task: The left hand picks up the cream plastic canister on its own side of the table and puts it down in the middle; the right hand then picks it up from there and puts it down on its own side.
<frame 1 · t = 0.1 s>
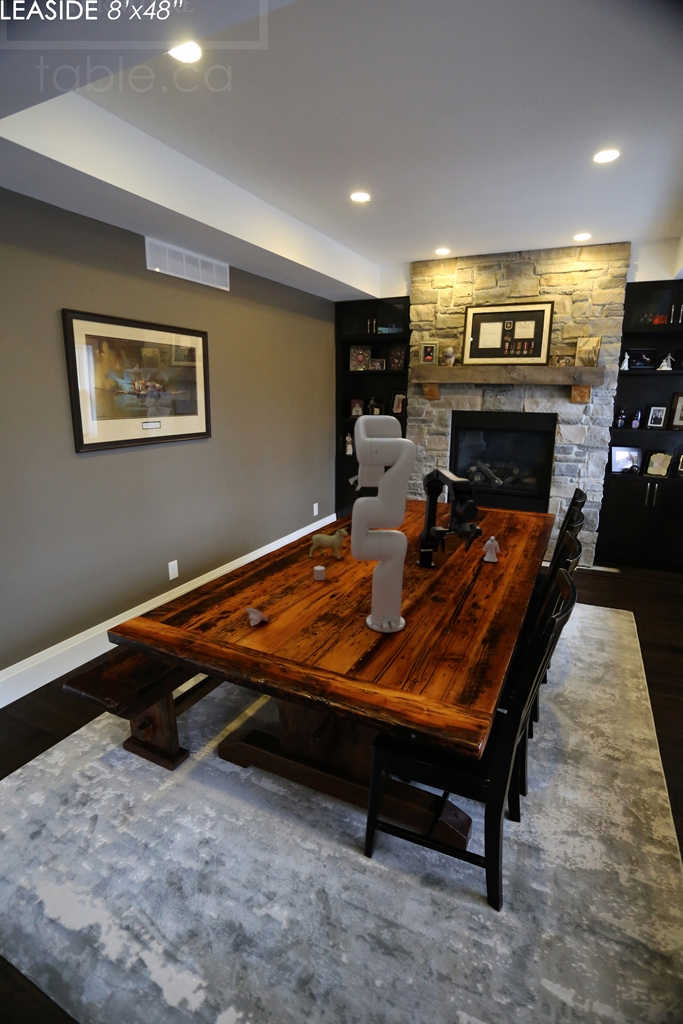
left hand: (370, 500, 199), 31 cm above the table, tool pointing down, fingers open, 9 cm apart
right hand: (454, 553, 188), 15 cm above the table, tool pointing down, fingers open, 9 cm apart
toy: (329, 557, 224), on the table
figurine: (490, 560, 225), on the table
seashell: (256, 623, 161), on the table
canister: (319, 578, 200), on the table
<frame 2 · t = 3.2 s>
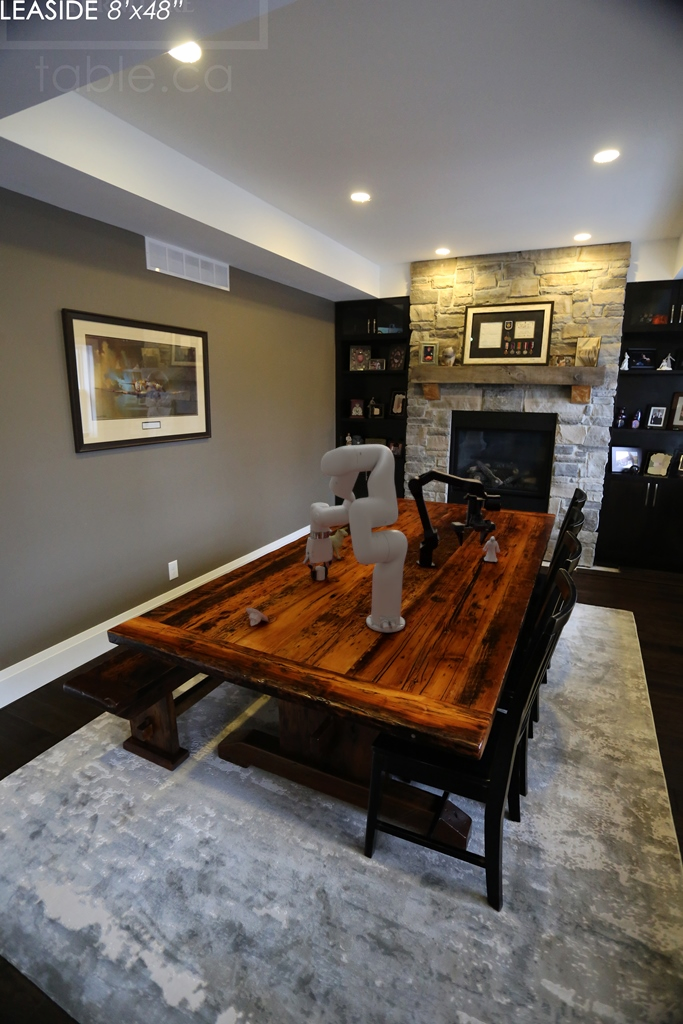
left hand: (319, 577, 200), 0 cm above the table, tool pointing down, fingers closed on canister, 4 cm apart
right hand: (471, 545, 213), 10 cm above the table, tool pointing down, fingers open, 9 cm apart
canister: (319, 578, 200), on the table, touching left hand
everything else where it was.
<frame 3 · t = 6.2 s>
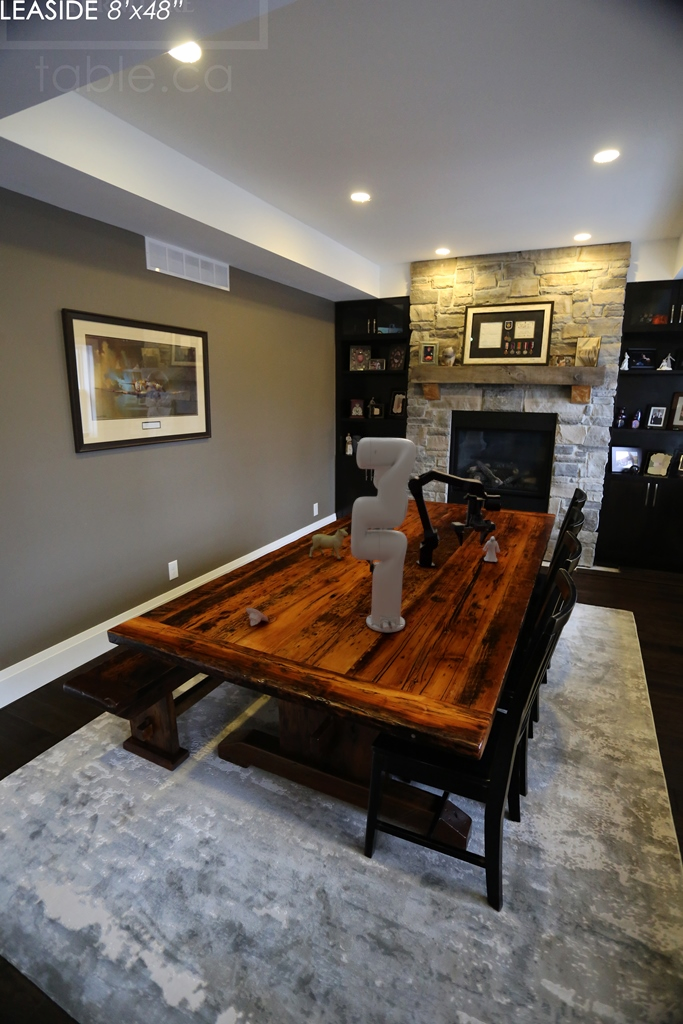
left hand: (378, 573, 195), 4 cm above the table, tool pointing down, fingers closed on canister, 4 cm apart
right hand: (471, 545, 213), 10 cm above the table, tool pointing down, fingers open, 9 cm apart
canister: (378, 574, 196), point 4 cm above the table, touching left hand
everything else where it was.
when the left hand's fingers open (1 cm above the table, at t = 9.3 s): canister stays where it is, on the table.
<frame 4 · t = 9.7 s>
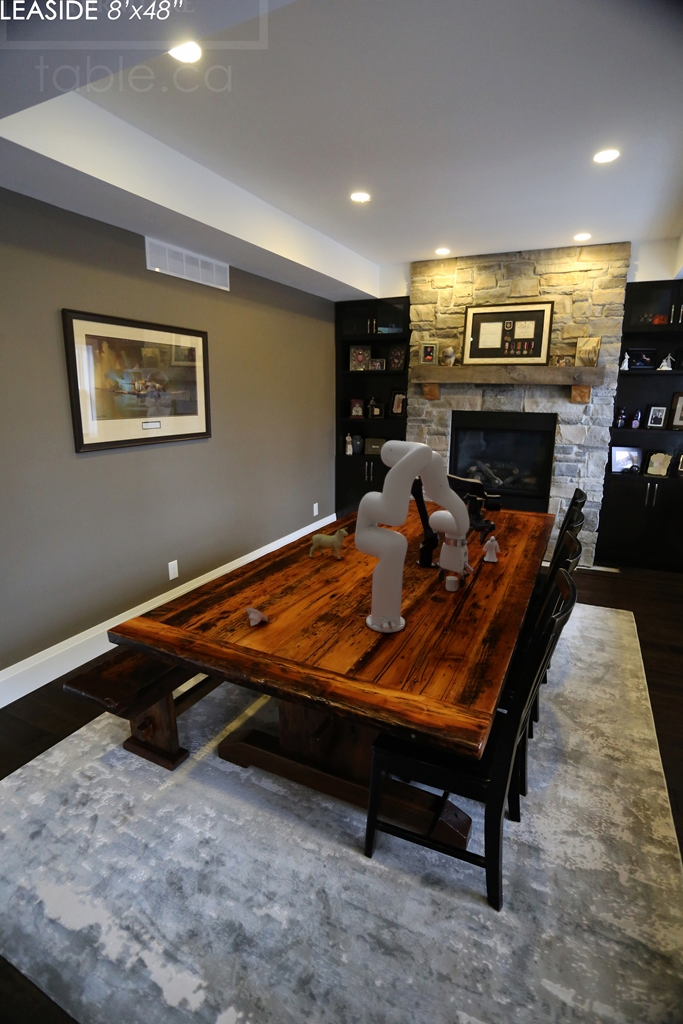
left hand: (451, 584, 192), 2 cm above the table, tool pointing down, fingers open, 8 cm apart
right hand: (471, 545, 213), 10 cm above the table, tool pointing down, fingers open, 9 cm apart
canister: (451, 589, 192), on the table
everything else where it was.
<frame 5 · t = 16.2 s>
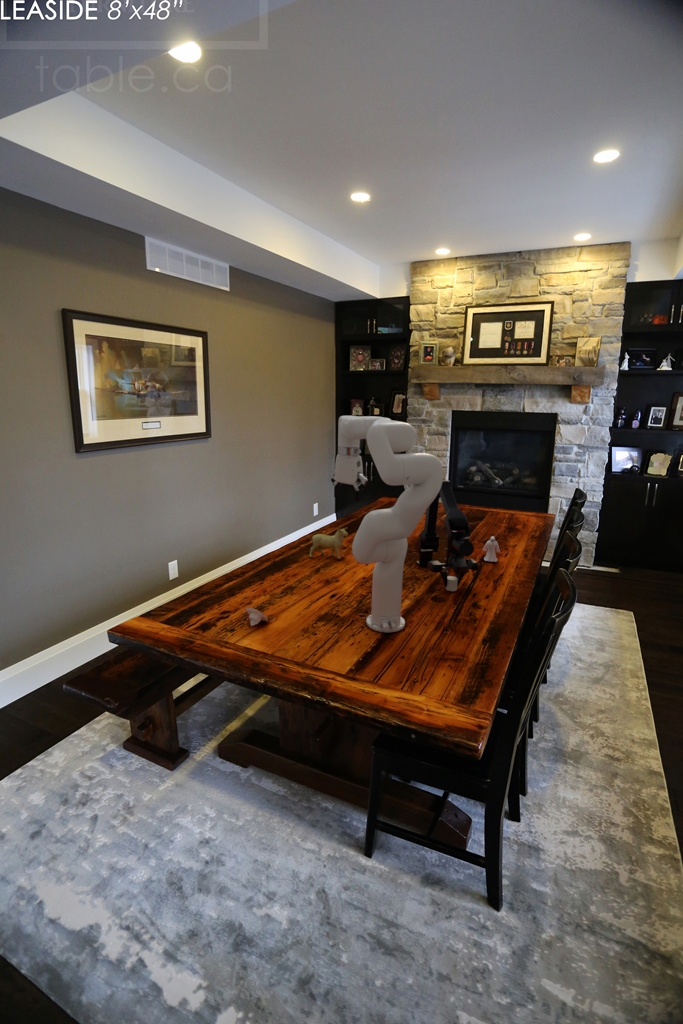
left hand: (347, 499, 179), 36 cm above the table, tool pointing down, fingers open, 9 cm apart
right hand: (451, 586, 192), 1 cm above the table, tool pointing down, fingers closed on canister, 4 cm apart
canister: (451, 589, 192), on the table, touching right hand
everything else where it was.
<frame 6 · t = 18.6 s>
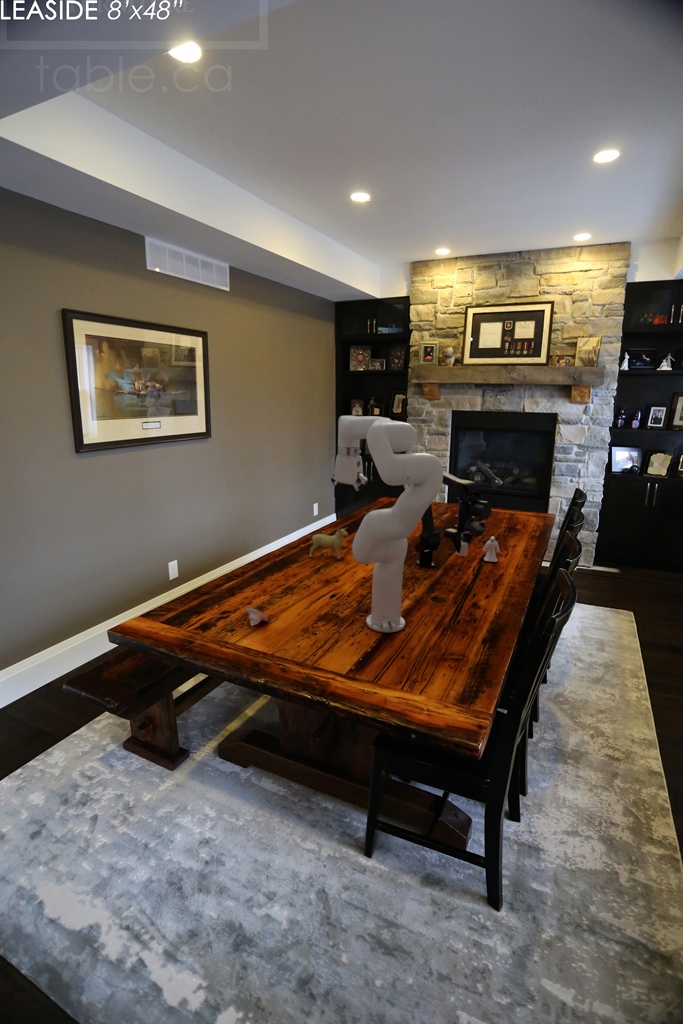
left hand: (347, 499, 179), 36 cm above the table, tool pointing down, fingers open, 9 cm apart
right hand: (461, 551, 199), 12 cm above the table, tool pointing down, fingers closed on canister, 4 cm apart
canister: (461, 554, 200), point 11 cm above the table, touching right hand
everything else where it was.
when the right hand's fingers open (2 cm above the table, at t = 21.5 s): canister stays where it is, on the table.
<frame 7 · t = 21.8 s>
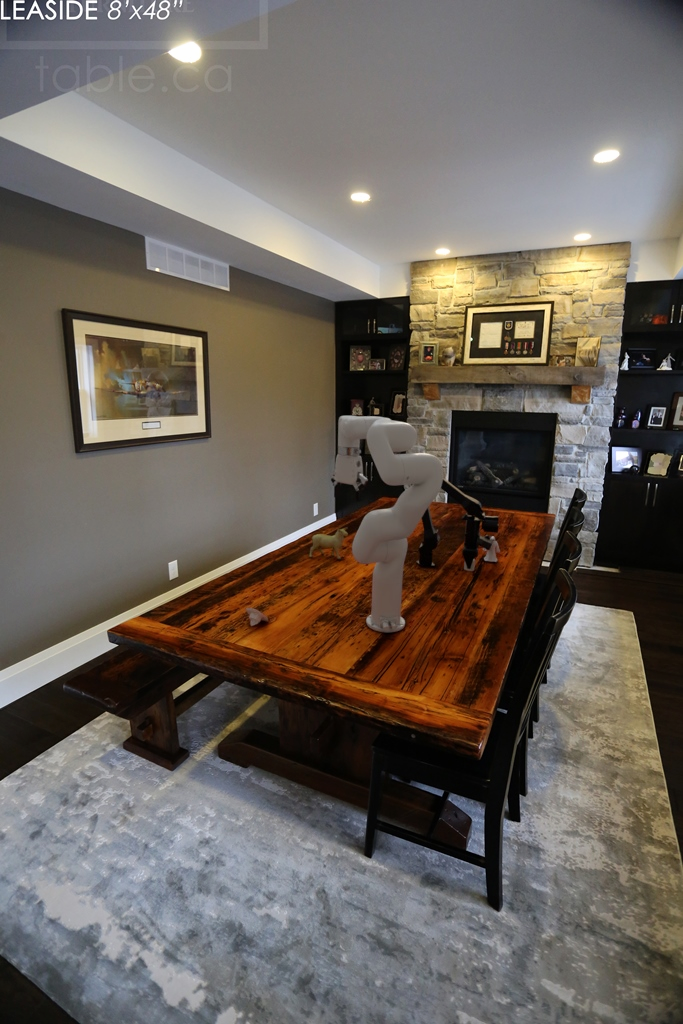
left hand: (347, 499, 179), 36 cm above the table, tool pointing down, fingers open, 9 cm apart
right hand: (469, 565, 213), 2 cm above the table, tool pointing down, fingers open, 8 cm apart
canister: (469, 569, 214), on the table
everything else where it was.
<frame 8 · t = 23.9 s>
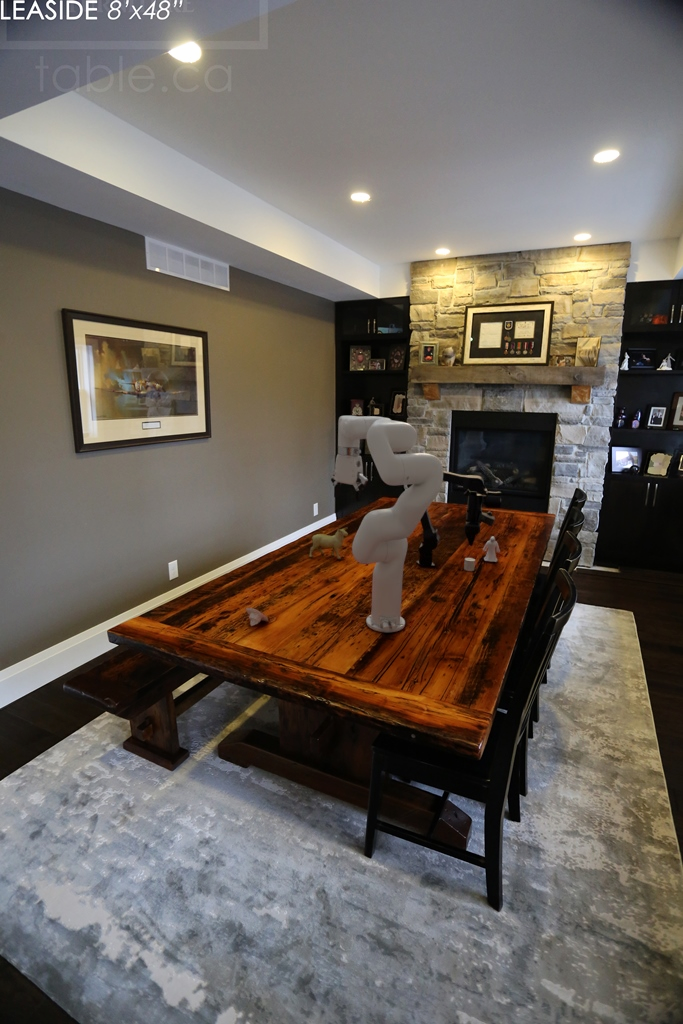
left hand: (347, 499, 179), 36 cm above the table, tool pointing down, fingers open, 9 cm apart
right hand: (471, 542, 211), 12 cm above the table, tool pointing down, fingers open, 9 cm apart
nothing on the table moved.
at the end: canister inside the target area (0.0 cm from its centre), on the table; canister tilted 0°; the two hands never held the canister at the same time; the left hand is holding nothing; the right hand is holding nothing; canister at rest at the end (0.0 cm/s) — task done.
